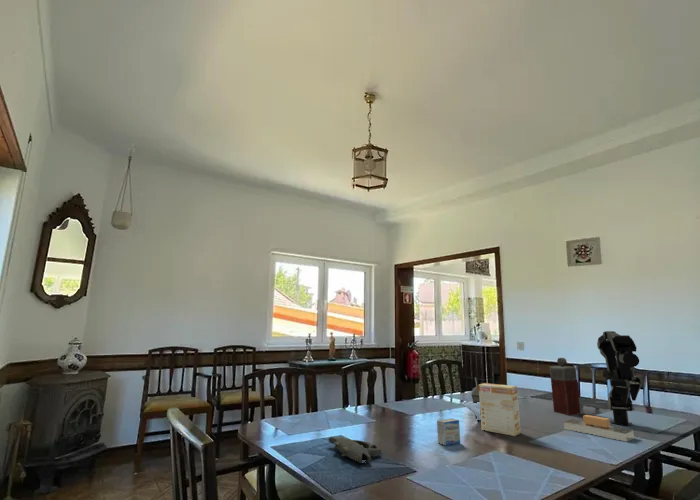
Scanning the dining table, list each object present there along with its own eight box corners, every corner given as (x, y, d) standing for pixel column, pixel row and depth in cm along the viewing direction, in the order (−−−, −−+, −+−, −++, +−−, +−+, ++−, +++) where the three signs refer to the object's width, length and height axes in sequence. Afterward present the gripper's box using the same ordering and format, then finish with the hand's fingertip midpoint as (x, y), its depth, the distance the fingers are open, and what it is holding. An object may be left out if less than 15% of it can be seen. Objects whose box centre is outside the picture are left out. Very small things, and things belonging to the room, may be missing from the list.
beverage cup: (489, 422, 186) (486, 378, 190) (473, 421, 188) (470, 378, 191) (487, 418, 193) (484, 376, 197) (472, 417, 195) (469, 376, 199)
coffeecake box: (521, 433, 167) (517, 385, 171) (515, 436, 162) (511, 387, 166) (487, 427, 178) (484, 382, 181) (480, 430, 172) (477, 384, 176)
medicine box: (445, 446, 150) (444, 422, 152) (437, 443, 154) (436, 420, 156) (460, 443, 154) (459, 420, 156) (452, 440, 158) (451, 417, 159)
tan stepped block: (588, 430, 171) (586, 414, 172) (611, 434, 164) (609, 418, 165) (584, 431, 169) (583, 415, 170) (607, 436, 162) (605, 419, 163)
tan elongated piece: (354, 451, 129) (392, 450, 135) (325, 431, 151) (359, 431, 158) (352, 468, 128) (391, 466, 134) (324, 445, 150) (358, 444, 156)
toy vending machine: (584, 413, 203) (577, 357, 208) (568, 415, 199) (562, 358, 204) (568, 409, 211) (563, 356, 216) (553, 411, 207) (548, 357, 212)
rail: (572, 426, 178) (572, 419, 179) (634, 438, 159) (633, 430, 160) (564, 429, 173) (563, 421, 174) (626, 441, 155) (625, 433, 155)
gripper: (613, 361, 183) (617, 396, 180) (595, 364, 172) (599, 401, 169) (641, 363, 174) (646, 400, 171) (623, 366, 163) (628, 405, 160)
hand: (629, 401), depth 168 cm, fingers open, 9 cm apart
